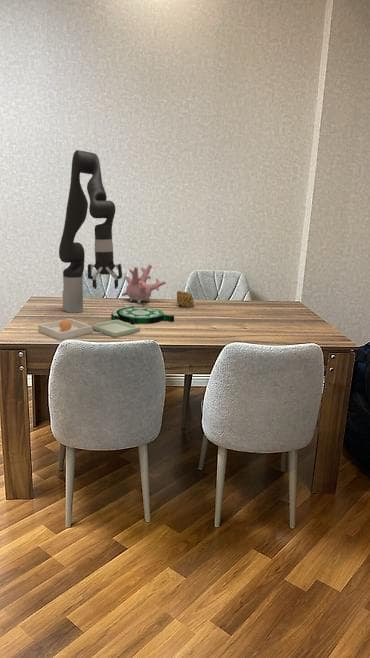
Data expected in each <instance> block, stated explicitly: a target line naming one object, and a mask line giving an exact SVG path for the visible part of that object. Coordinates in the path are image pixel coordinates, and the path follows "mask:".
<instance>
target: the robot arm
mask: <svg viewBox="0 0 370 658" xmlns="http://www.w3.org/2000/svg"><path fill="white" fill-rule="evenodd" d="M70 171H71V172H70V175H71V176H70V184H69V191H68V199H67V204H66V208H65V209H66V210H65V211H66V212H65V219H64V224H63V225H64V226H63V230H62V235H61V238H60V244H59V248H58V256H59V257H58V258H59V259H60V261H61V262H63V263H66V264H68V263H69V266H67V267H66V268H64V269H63V271H62V277H63V278H62V283H63V285H62V288H63V289H62V311H64V312H65V313H69V314H71V313H72V314H74V313H82V312H83V311H84V285H83V284H84V278H83V277H84V275H83V274H84V271H85V248H84V246H83V244H82V243H80V242H75V238H76V235H77V233H78V232H79V230H80V229H81V227H82V226H83V224H84V223H85V221H86V219H87V215H88V212H89V215H90V216H91V217H92V218H93V219H105V221H104V222H102V223H100V224H96V225H95V226H94V260H95V261H94V262H95V263H94V264H92V263H89V264H88V265H87V278H88V279H89V280H91V281H92V287H93V288H94V290H97V287H98V286H97V285H98V284H97V277H98V276H99V274H100V275H101V276H102V275H107V276H109V275H110V276H111V277H112V278H113V279H114V280H113V281H114V282H113V283H114V290H116V289H118V287H119V280H120V279H122V278H123V269H122V264H121V263H117V264H115V262H114V260H115V259H114V243H113V242H114V241H113V225H114V219H115V215H116V209H117V208H116V205H115V203H114V202H113V201H112V200H107V193H106V189H105V187H104V184H103V179H102V169H101V164H100V159H99V156H98V154H96V153H94V152H89V151H85V150H78V149H76V150H75V151H74V152H73V155H72V161H71V170H70ZM81 174H86V175H91V178H90V179H89V180H88V182H87V183H86V184H87V185H86V190H87V194H88V197H89V202H88V199H87V195H86V194H85V192H84V190H83V187H82V185H81ZM88 208H89V211H88ZM115 268H116V270H117V273H118V275H117V274H116V273H115V271H114V269H115ZM93 269H95V270H96V272H95V274H94V275H92V273H93V272H92V270H93Z"/></svg>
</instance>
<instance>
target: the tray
mask: <svg viewBox="0 0 370 658" xmlns="http://www.w3.org/2000/svg"><path fill="white" fill-rule="evenodd" d="M90 325H91V326H93V331H96V332H98V333H100V332H101V334H103V333H104V335H106V334H107V336H110V337H112V338H114V337H115V338H119V337H124V336H128V335H132V334H136V333H140V332H141V326H137V325H136V324H134V325H132V324H130V323H127V322H123V321H121V320H119V319H118V320H112V319H110V320H107V321H103V322H98V323H94V324H93V323H92V324H90Z"/></svg>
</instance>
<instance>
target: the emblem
mask: <svg viewBox="0 0 370 658" xmlns="http://www.w3.org/2000/svg"><path fill="white" fill-rule="evenodd" d="M134 306H135V305H127V306H126V305H125V306H122V307H118V308H115V309H113V310H112V313H111V314H110V315H111V316H110V317H111V318H110V320H119V321H122V322H125V323H128V324H132V325H137V324H138V325H151V324H157V323H160V322H169V323H172V322H173V323H174V322H175V315H173V314H170V315H169V314H164V312H163V311H162V310H160V309H157V308H154V307H146V306H145V307H144V306H135V307H134Z"/></svg>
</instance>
